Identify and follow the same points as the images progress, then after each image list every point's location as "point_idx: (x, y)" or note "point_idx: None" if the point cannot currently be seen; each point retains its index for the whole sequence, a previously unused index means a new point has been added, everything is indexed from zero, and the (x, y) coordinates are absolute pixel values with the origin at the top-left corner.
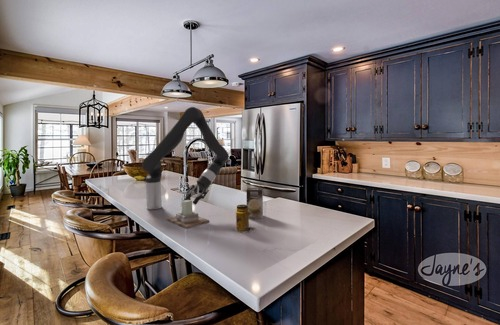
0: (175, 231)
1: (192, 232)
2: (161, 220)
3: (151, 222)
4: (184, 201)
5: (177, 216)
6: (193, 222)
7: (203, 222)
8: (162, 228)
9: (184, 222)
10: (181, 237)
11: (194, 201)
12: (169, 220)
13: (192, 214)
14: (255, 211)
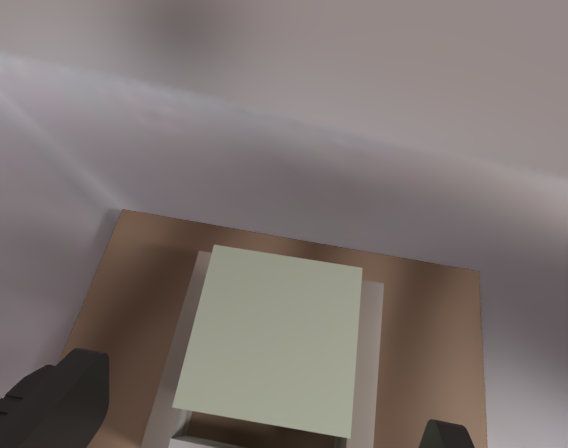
0: (162, 142)
1: (21, 186)
2: (495, 246)
3: (502, 174)
4: (286, 279)
5: None
6: (130, 324)
7: None
8: (299, 136)
9: None
10: (44, 98)
11: (58, 376)
12: (415, 264)
13: None
14: None
